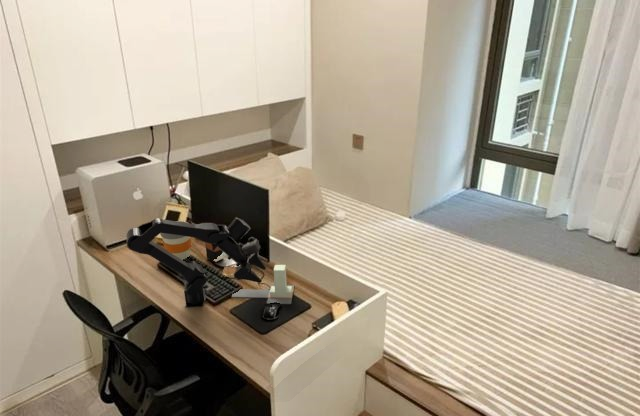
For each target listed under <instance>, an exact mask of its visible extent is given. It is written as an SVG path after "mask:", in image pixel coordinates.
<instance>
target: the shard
mask: <svg viewBox="0 0 640 416" xmlns="http://www.w3.org/2000/svg"><path fill="white" fill-rule="evenodd" d="M232 266H233V267H225V266H224V268H223V270H222V273H221V275H222V274H223V275H225V276H227V277H229V278H228V279H231V278H232V279H235V278H234V273H235V271H236V269H237V268H238V267H237V266H236V267H235V266H234V265H232Z"/></svg>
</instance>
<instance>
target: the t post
mask: <svg viewBox="0 0 640 416" xmlns="http://www.w3.org/2000/svg"><path fill="white" fill-rule="evenodd" d="M273 281H274V282H273V283H274V284H273V285H275V286H271V285H270V289H269V290H270V296H274V297H291V294H292V286H287V266H286V264H274V267H273Z"/></svg>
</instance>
